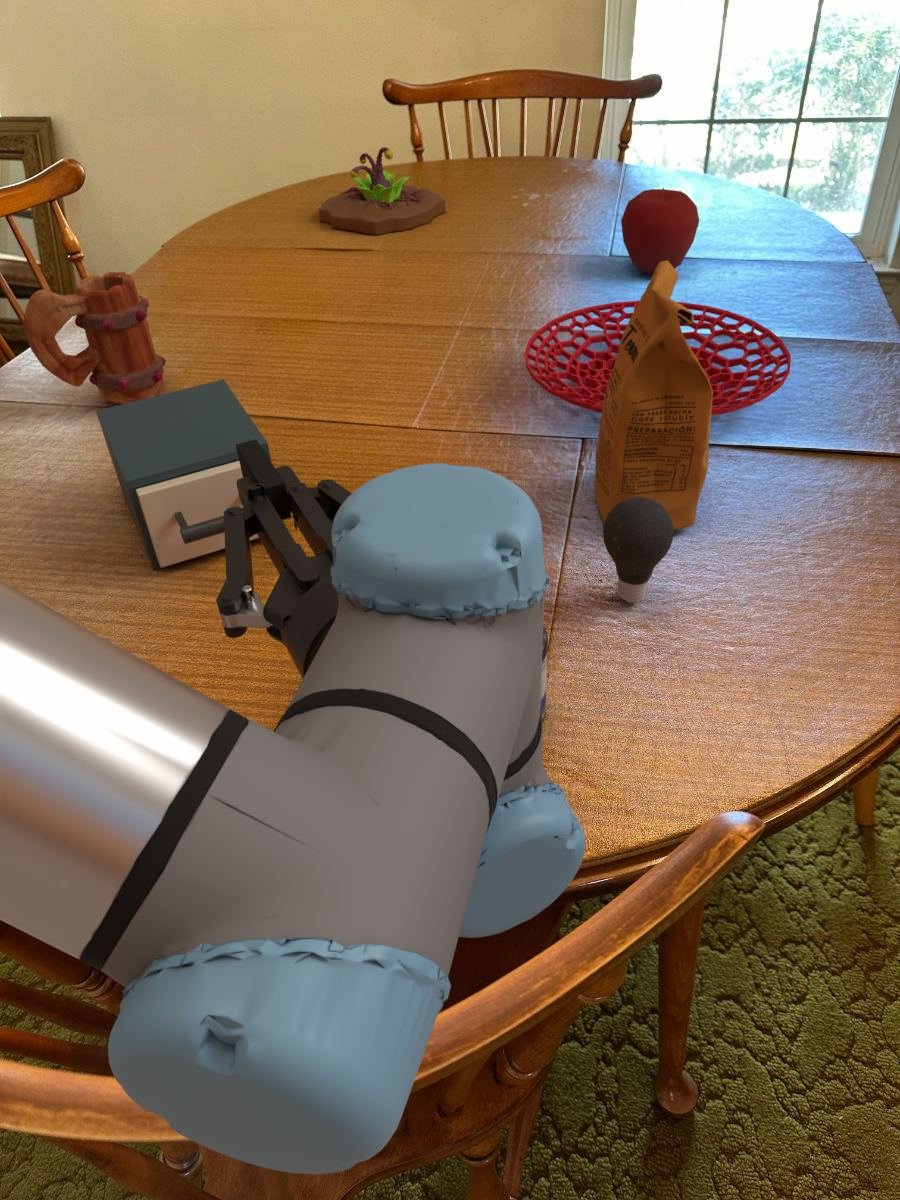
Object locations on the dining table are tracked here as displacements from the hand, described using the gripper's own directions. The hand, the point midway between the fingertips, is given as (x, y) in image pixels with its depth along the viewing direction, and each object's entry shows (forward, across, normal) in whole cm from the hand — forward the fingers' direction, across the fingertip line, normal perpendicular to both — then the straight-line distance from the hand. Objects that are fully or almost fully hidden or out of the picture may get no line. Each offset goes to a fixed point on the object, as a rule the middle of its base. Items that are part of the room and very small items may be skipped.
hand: (249, 458), depth 65 cm
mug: (+53, -5, -18) cm, 56 cm away
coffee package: (+4, +38, -19) cm, 42 cm away
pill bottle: (-15, +12, -18) cm, 27 cm away
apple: (+53, +74, -19) cm, 93 cm away
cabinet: (+24, -2, -18) cm, 30 cm away
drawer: (+20, -2, -17) cm, 27 cm away
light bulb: (-8, +28, -19) cm, 35 cm away
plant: (+101, +50, -18) cm, 114 cm away
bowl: (+22, +51, -18) cm, 59 cm away
